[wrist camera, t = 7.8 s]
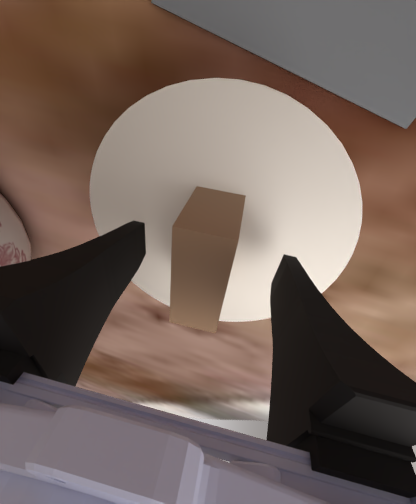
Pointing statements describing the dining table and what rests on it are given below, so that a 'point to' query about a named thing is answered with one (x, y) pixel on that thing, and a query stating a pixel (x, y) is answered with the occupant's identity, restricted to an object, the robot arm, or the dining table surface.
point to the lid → (226, 196)
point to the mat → (325, 44)
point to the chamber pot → (12, 236)
